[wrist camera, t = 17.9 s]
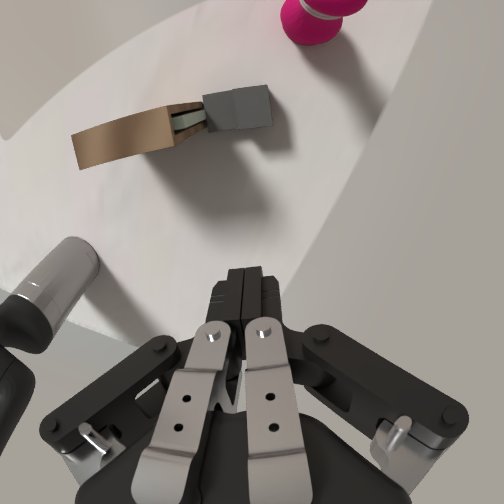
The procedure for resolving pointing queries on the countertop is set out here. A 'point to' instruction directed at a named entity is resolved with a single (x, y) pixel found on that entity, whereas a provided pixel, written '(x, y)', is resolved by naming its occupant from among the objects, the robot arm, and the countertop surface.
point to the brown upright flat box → (133, 135)
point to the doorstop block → (238, 109)
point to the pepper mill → (316, 18)
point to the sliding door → (187, 119)
